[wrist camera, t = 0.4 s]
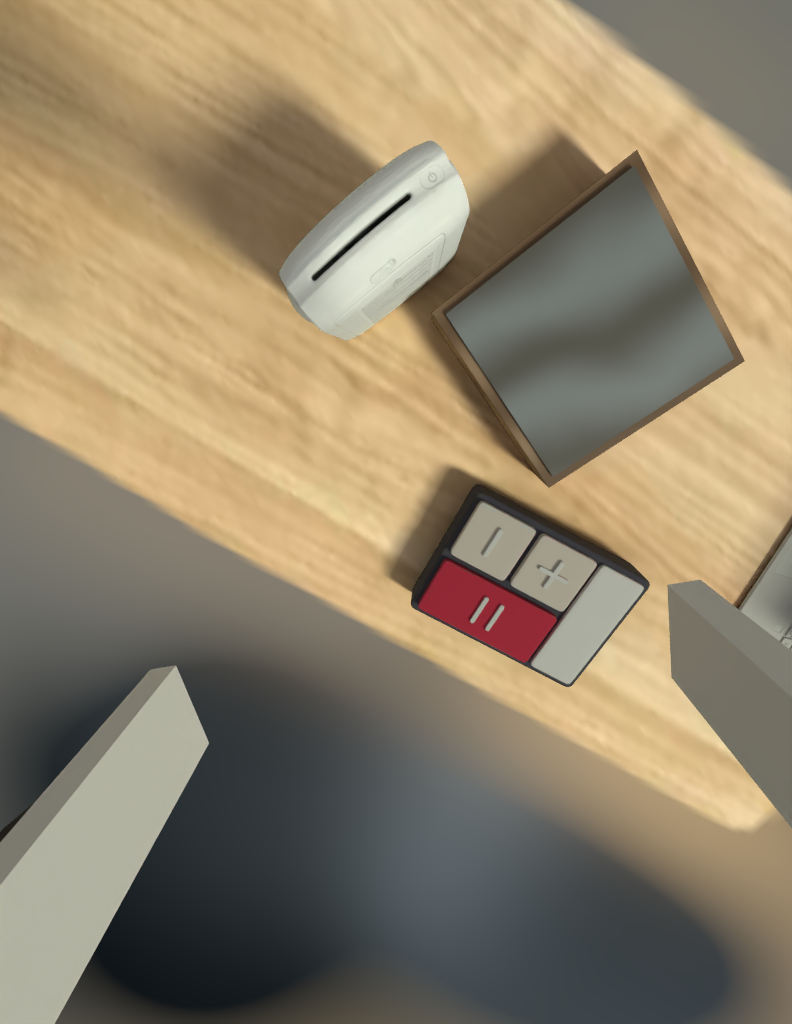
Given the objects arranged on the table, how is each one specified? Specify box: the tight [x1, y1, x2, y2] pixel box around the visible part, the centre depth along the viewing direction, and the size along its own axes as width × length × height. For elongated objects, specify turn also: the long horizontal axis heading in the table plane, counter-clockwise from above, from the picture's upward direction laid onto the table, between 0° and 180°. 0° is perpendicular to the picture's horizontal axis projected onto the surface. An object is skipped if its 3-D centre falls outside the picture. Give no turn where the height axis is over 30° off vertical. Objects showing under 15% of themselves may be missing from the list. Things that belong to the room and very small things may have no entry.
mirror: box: [431, 150, 744, 487], centre depth 31 cm, size 14×14×4 cm
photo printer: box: [279, 141, 470, 341], centre depth 26 cm, size 10×4×12 cm, turn 126°
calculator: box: [411, 485, 650, 687], centre depth 37 cm, size 11×4×15 cm
